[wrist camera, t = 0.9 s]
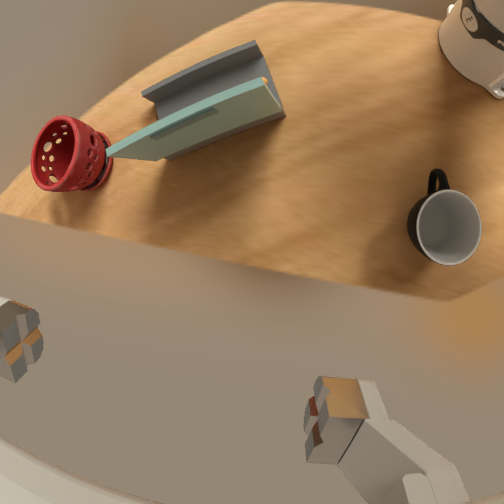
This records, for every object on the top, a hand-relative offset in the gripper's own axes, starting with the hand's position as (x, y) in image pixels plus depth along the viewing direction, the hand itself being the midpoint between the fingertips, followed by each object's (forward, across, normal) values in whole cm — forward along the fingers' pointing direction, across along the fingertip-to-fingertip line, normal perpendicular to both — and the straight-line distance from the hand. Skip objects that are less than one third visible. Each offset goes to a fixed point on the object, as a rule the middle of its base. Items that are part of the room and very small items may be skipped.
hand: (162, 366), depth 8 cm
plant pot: (+50, +31, 0) cm, 59 cm away
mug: (+37, -26, -2) cm, 45 cm away
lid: (+34, +8, -8) cm, 36 cm away
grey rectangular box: (+46, +8, -12) cm, 49 cm away
